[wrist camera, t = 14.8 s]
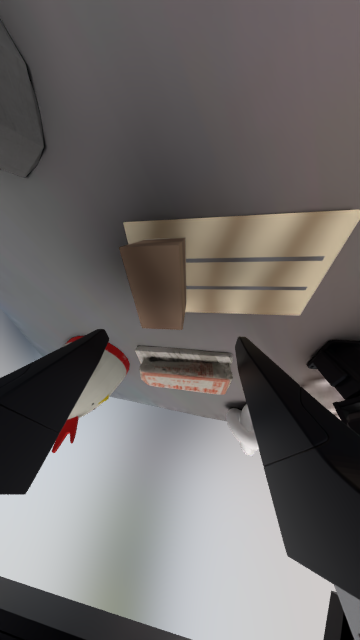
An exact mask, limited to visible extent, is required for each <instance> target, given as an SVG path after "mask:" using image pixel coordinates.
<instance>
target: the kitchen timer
mask: <svg viewBox="0 0 360 640" xmlns="http://www.w3.org/2000/svg"><path fill="white" fill-rule="evenodd" d="M81 337H83V336H77V337H74V338H71V339H70V340H69V341H68V342H67V343H66V344H65V345H64V346H66V345H68V344H69V343H71V342H73V341H75V340H77V339H79V338H81ZM64 346H63V347H64ZM129 365H130V364H129V361H128V359H127V357H126V356H125V355H124V354H123V353H122V352H121V351H120V350H119V349H118V348H116V347H115V346H113V345H111V344H110V343H108V344H107V346H106V348H105V351H104V353H103V355H102V358H101V360H100V362H99V364H98V365H97V367H96V369H95V371H94V372H93V374H92V376H91V378H90V380H89V381H88V383H87V385H86V387H85V389H84V390H83V392H82V394H81V396H80V398H79V399H78V401H77V403H76V405H75V407H74V408H73V410H72V412H71V414H70V416H69V417H68V419H67V421H66V423H65V424H64V426H63V428H62V430H61V432H60V434H59V435H58V437H57V439H56V441H55V444H54V446H53V449H52V452H53V453H55V452H56V451H57V449H58V448H59V446H60V445H61V443H62V442H63V440H64V439H65V437H66V436H67V434H69V433H70V441H71V443H73V441H74V438H75V435H76V430H77V424H78V418H80V417H82V416H84V415H86V414H88V413H89V412H91V411H92V410H94V409H95V408H97V407H98V406H99V405H100V404H102V403H103V402H104V401H106V400H107V399H108V398H109V396H110V395H111V394H112V393H113V391H114V390H115V389H116V388H117V387H118V386H119V384H120V383H121V382H122V381H123V379H124V378H125V376H126V374H127V372H128V370H129Z"/></svg>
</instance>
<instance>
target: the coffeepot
mask: <svg viewBox="0 0 360 640" xmlns="http://www.w3.org/2000/svg"><path fill="white" fill-rule="evenodd" d="M43 148H44V143H43V131H42V124H41V118H40V112H39V108H38V104H37V101H36V97H35V93H34V90H33V87H32V85H31V82H30V79H29V76H28V73H27V68H26V64H25V62H24V60H23V59H22V57H21V55H20V53H19V52H18V50H17V48H16V46H15V45H14V43H13V41H12V39H11V37H10V36H9V34H8V32H7V30H6V28H5V27H4V25H3V23H2V21H1V19H0V169H2V170H5V171H7V172H10V173H13V174H15V175H18V176H21V177H23V178H25V177H26V176H27V175H28V174H29V173H30V172H31V171H32V170H33V169H34V168H35V167H36V166H37V164H38V162H39V160H40V157H41V153H42V150H43Z"/></svg>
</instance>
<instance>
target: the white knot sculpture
mask: <svg viewBox="0 0 360 640" xmlns="http://www.w3.org/2000/svg"><path fill="white" fill-rule="evenodd" d="M226 419H227V424H228V426H229V428H230V430H231V431H232V433H233V435H234V436H235V437H236V438H237V440H238V441H239V442H240V445H241V448H242V450H243V451H244V453H246V454H247V455H248V456H252V455H254V453H255V452H256V450H259V447H258V444H257V440H256V436H255V432H254V428H253V425H252V421H251V417H250V413H249V410H248V406H247V404H246V405H245V406H244V407H243V409H242V411H241V410H239V409H237V408H231V409H229V410H228V412H227V415H226Z"/></svg>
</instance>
